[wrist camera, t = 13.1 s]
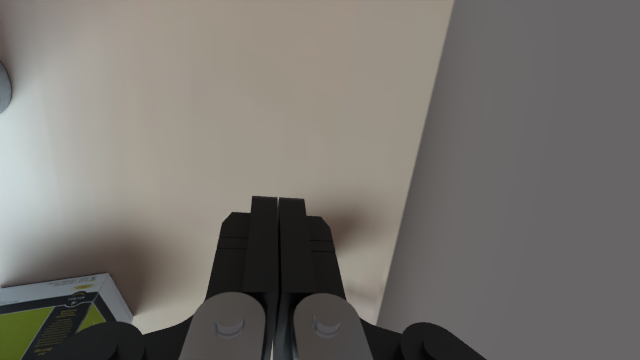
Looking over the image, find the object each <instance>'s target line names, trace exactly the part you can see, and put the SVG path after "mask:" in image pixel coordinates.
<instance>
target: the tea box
mask: <svg viewBox="0 0 640 360" xmlns="http://www.w3.org/2000/svg"><path fill="white" fill-rule="evenodd" d="M132 320H133V315H132V314H131V312H130V310H129V308H128V306H127V304H126V303H125V301H124V299H123V297H122V295H121V294H120V292H119V290H118V288H117V286H116V285H115V283H114V281H113V280H112V278H111V276H110V275H109V273H104V274H97V275H91V276H84V277H77V278H70V279H63V280H56V281H49V282H42V283H35V284H28V285H22V286H15V287H7V288H1V289H0V360H36V359H37V358H39V357H41V356H42V355H44V354H45V353H47V352H48V351H50V350H51V349H53V348H54V347H56V346H57V345H59V344H60V343H62V342H63V341H65V340H67V339H68V338H70V337H71V336H73V335H74V334H76V333H78V332H79V331H81V330H83V329H85V328H87V327H89V326H92V325H95V324H98V323H103V322H109V321H121V322H126V323H129V324H131V323H132Z"/></svg>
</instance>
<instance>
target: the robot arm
mask: <svg viewBox="0 0 640 360" xmlns="http://www.w3.org/2000/svg"><path fill="white" fill-rule="evenodd" d="M10 99H11V85H10V80H9V78H8V75H7V73H6V70H5V69H4V67H3V65H2V64H1V62H0V113H2V112H3V111H4V110H5V109H6V107H7V106H8V104H9V101H10ZM272 341H273V360H486V359H485V358H484V357H482V356H481V355H480V354H478V353H477V352H476V351H474V350H473V349H472V348H470V347H469V346H468V345H467V344H465V343H464V342H463V341H461V340H460V339H458V338H457V337H456V336H455V335H453V334H452V333H450V332H449V331H448V330H446V329H444V328H442V327H440V326H438V325H435V324H432V323H426V322H420V323H415V324H412V325H410V326H409V327H407V328H406V329H405V331H404V332H403V334H400V333H397V332H393V331H390V330H387V329H383V328H380V327H377V326H374V325H372V324H370V323H368V322H366V321H364V320H363V319H361V318H360V317H359V316H358V314H357V312H356V310H355V309H354V308H353V307H352V305H351V304H349V303H348V302H347V300H346V297H345V293H344V288H343V284H342V279H341V275H340V270H339V266H338V261H337V257H336V254H335V248H334V243H333V239H332V234H331V230H330V227H329V226H328V225H327V224H326V222H325V221H324V220H323V219H322V218H321V217H318V216H306V209H305V201H304V199H298V198H282V197H279V202H278V200H277V197H264V196H252V204H251V213H241V212H232V213H231V214H230V215H229V216H228V217H227V218H226V219H225V220H224V221H223V223H222V226H221V230H220V235H219V240H218V244H217V250H216V253H215V258H214V263H213V267H212V272H211V276H210V281H209V285H208V290H207V295H206V298H205V300H204V302H203V303H202V304H201V305H200V306H199V307H198V309H197V310H196V312H195V314H193V315H192V316H191V317H190V318H188V319H187V320H185V321H183V322H182V323H179V324H177V325H175V326H172V327H169V328H166V329H162V330H158V331H155V332H151V333H148V334H144V335H142V333H141V332H140V331H139V330H138V328H136V327H135V326H133V325H131V324H129V323H126V322H121V321H109V322H103V323H98V324H95V325H92V326H89V327H87V328H85V329H83V330H81V331H79V332H78V333H76V334H74V335H73V336H71V337H70V338H68V339H67V340H65V341H63V342H62V343H60V344H59V345H57V346H56V347H54V348H53V349H51V350H50V351H48V352H47V353H45V354H44V355H42V356H41V357H39V358H37V359H36V360H270V358H271V349H272Z"/></svg>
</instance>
